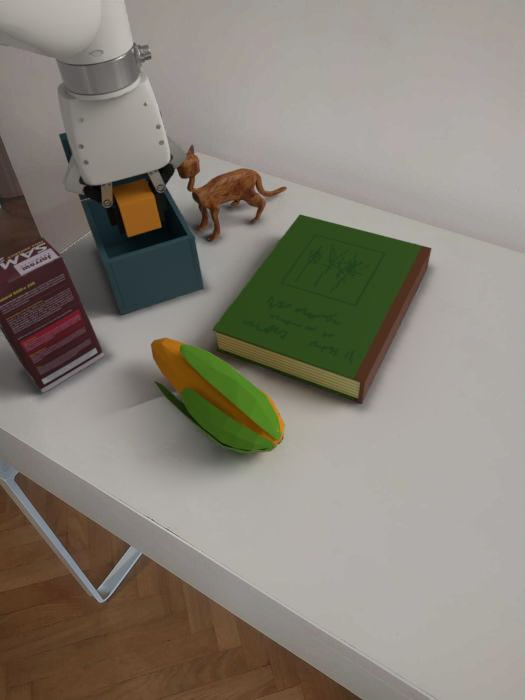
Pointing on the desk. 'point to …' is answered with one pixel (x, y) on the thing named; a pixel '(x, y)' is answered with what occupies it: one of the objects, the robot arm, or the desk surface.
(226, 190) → the cat figurine
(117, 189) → the cheese block
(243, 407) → the corn
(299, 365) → the book
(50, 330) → the supplement box
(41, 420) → the desk surface
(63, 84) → the robot arm
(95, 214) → the box
